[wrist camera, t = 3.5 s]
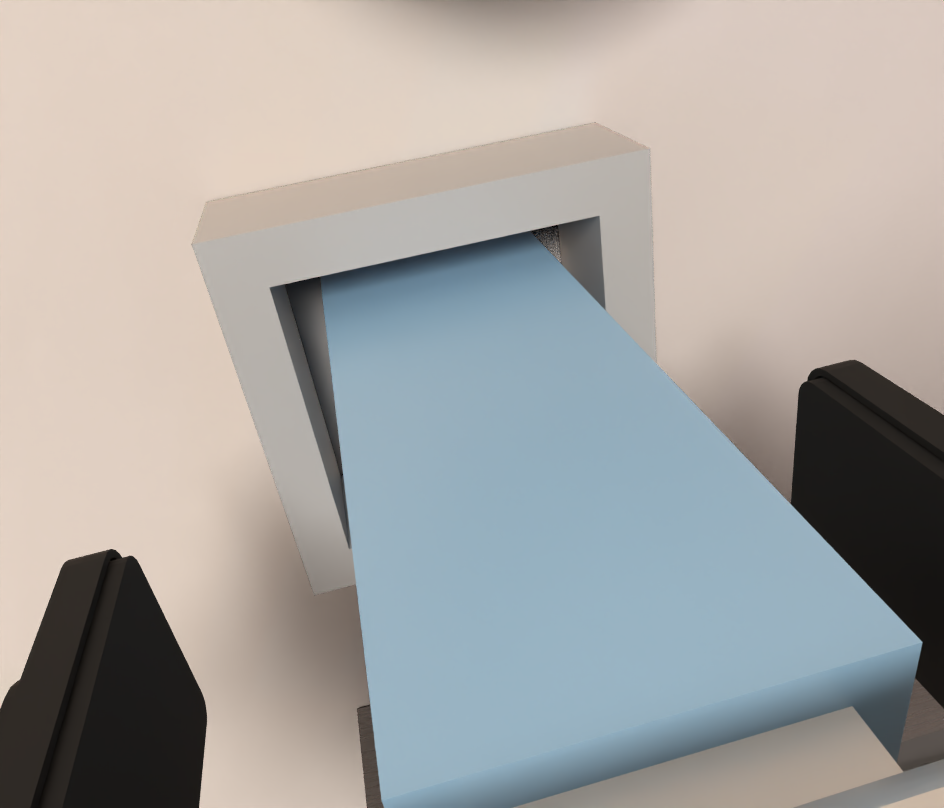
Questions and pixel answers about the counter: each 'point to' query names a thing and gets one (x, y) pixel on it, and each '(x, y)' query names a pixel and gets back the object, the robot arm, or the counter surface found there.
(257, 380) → the frame
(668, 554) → the plug
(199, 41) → the counter surface
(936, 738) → the port panel
